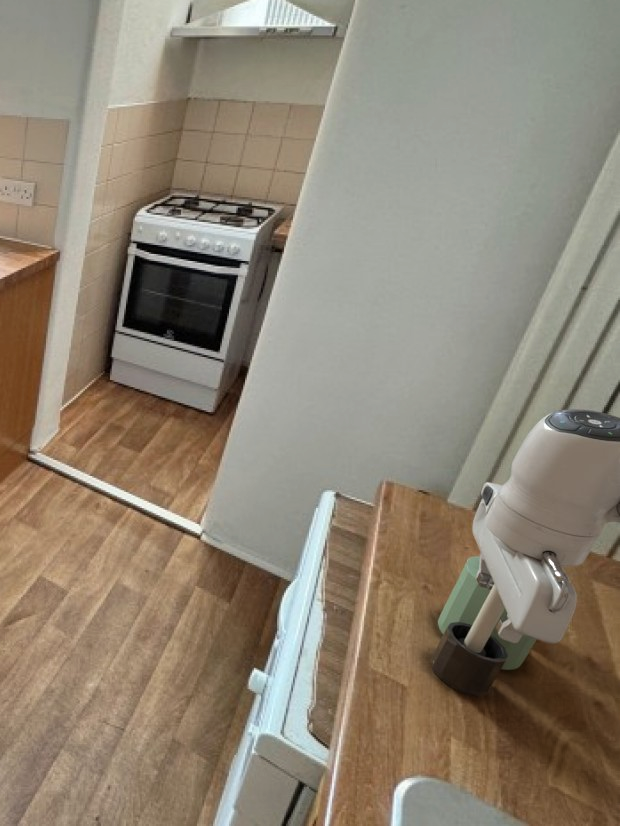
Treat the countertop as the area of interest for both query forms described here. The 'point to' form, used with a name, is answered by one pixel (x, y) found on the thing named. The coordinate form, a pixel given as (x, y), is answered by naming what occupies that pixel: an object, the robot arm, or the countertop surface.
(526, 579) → the robot arm
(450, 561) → the countertop surface
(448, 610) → the jar
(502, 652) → the holder
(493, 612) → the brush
